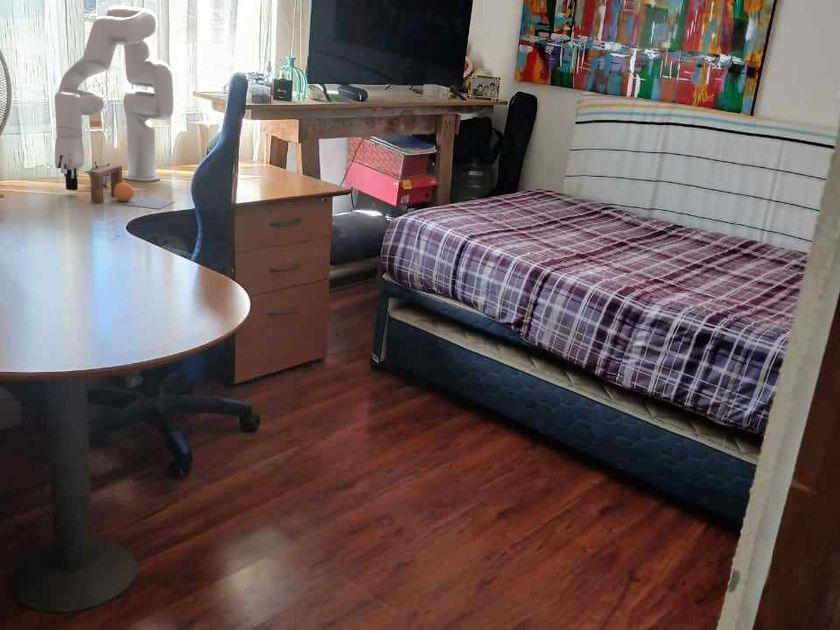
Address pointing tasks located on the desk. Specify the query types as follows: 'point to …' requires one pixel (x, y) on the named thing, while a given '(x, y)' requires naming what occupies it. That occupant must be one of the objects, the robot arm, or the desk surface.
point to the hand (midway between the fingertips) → (71, 189)
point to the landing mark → (148, 203)
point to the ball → (123, 191)
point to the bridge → (97, 181)
